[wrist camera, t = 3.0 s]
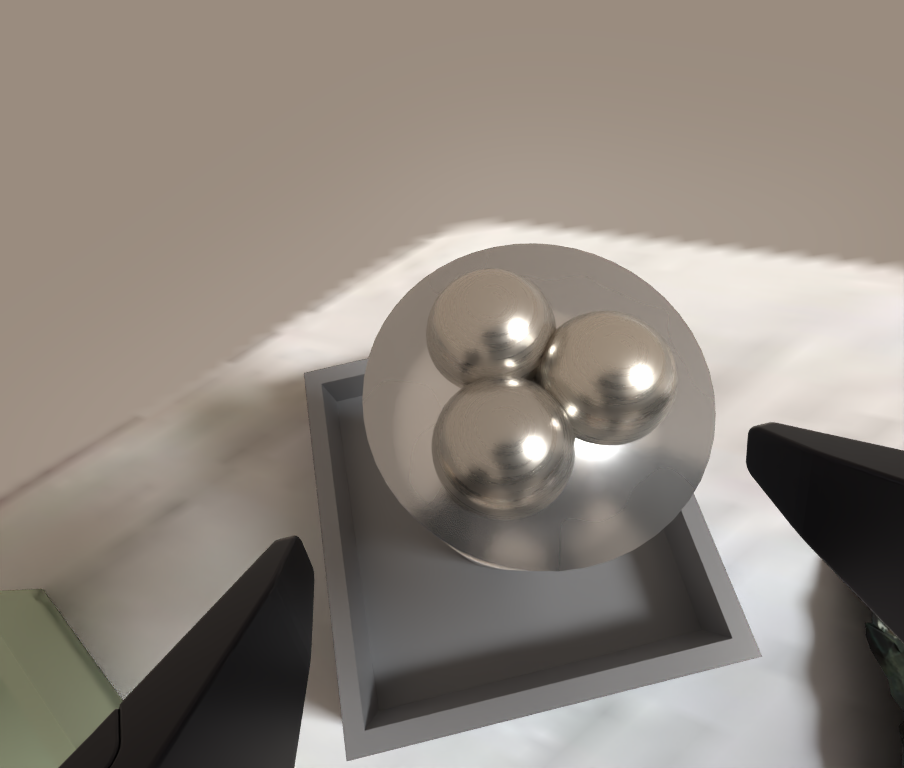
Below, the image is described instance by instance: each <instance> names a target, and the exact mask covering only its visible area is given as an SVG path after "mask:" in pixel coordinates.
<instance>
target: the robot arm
mask: <svg viewBox="0 0 904 768" xmlns="http://www.w3.org/2000/svg"><path fill="white" fill-rule="evenodd" d="M746 464H747V468H748V470H749V472H750V474H751V476H752V477H753V478H754V479H755V481H756V482H757V483H758V484H759V486H760V487H761V488H762V489H763V491H764V492H765V493H766V494H767V496H768V497H769V498H770V499H771V501H772V502H773V503H774V504H775V506H776V507H777V508H778V509H779V511H780V512H781V513H782V514H783V516H784V517H785V518H786V519H787V521H788V522H789V523H790V524H791V526H792V527H793V528H794V529H795V530H796V531H797V533H798V534H799V535H800V536H801V537H802V538H803V540H804V541H805V542H806V543H807V544H808V545H809V546H810V547H811V548H812V549H813V550H814V551H815V552H816V553H817V554H818V555H819V557H820V558H821V559H822V560H823V561H824V562H825V563H826V564H827V565H828V566H829V567H830V568H831V569H832V570H833V571H834V572H835V573H836V574H837V575H838V576H839V577H840V578H841V579H842V580H843V581H844V582H845V583H846V584H847V585H848V586H849V588H850V589H851V590H852V591H853V592H854V593H855V594H856V595H857V596H858V597H859V598H860V599H861V600H862V601H863V602H864V603H865V604H866V605H867V606H868V607H869V608H870V609H871V610H872V611H873V612H874V613H875V614H876V615H877V616H878V618H879V619H880V620H881V621H882V622H883V623H884V624H885V625H886V626H887V627H888V628H889V629H890V630H891V631H892V632H893V633H894V634H895V635H896V636H897V637H898V638H899V639H900V640H901V641H902V642H903V643H904V451H903V450H898V449H894V448H889V447H885V446H880V445H875V444H871V443H866V442H862V441H857V440H853V439H848V438H843V437H839V436H834V435H830V434H825V433H821V432H816V431H812V430H807V429H802V428H798V427H793V426H789V425H784V424H780V423H774V422H770V423H765V424H761V425H757V426H754V427H752V428H751V429H750V430H749V432H748V441H747V455H746ZM313 599H314V571H313V567H312V565H311V562H310V560H309V558H308V555H307V553H306V550H305V548H304V546H303V543H302V541H301V540H300V538H299V537H297V536H291V537H287V538H282V539H279V540H276V541H275V542H274V543H273V544H272V545H271V546H270V547H269V548H268V549H267V550H266V551H265V552H264V553H263V554H262V555H261V556H260V557H259V558H258V559H257V560H256V561H255V562H254V564H253V565H252V566H251V567H250V568H249V569H248V570H247V571H246V572H245V573H244V574H243V575H242V576H241V577H240V578H239V579H238V580H237V581H236V582H235V583H234V585H233V586H232V587H231V588H230V589H229V590H228V591H227V592H226V593H225V594H224V595H223V596H222V597H221V598H220V599H219V600H218V601H217V602H216V603H215V605H214V606H213V607H212V608H211V609H210V610H209V611H208V612H207V613H206V614H205V615H204V616H203V617H202V618H201V619H200V620H199V621H198V622H197V623H196V625H195V626H194V627H193V628H192V629H191V630H190V631H189V632H188V633H187V634H186V635H185V636H184V637H183V638H182V639H181V640H180V641H179V642H178V643H177V644H176V646H175V647H174V648H173V649H172V650H171V651H170V652H169V653H168V654H167V655H166V656H165V657H164V658H163V659H162V660H161V661H160V662H159V663H158V664H157V665H156V667H155V668H154V669H153V670H152V671H151V672H150V673H149V674H148V675H147V676H146V677H145V678H144V679H143V680H142V681H141V682H140V683H139V684H138V685H137V687H136V688H135V689H134V690H133V691H132V692H131V693H130V694H129V695H128V696H127V697H126V698H125V699H124V700H123V701H122V702H121V704H120V707H119V708H117V709H115V710H113V712H112V713H111V714H110V715H109V716H108V717H107V718H106V719H105V720H104V721H103V722H102V723H101V724H100V725H99V726H98V727H97V728H96V729H95V731H94V732H93V733H92V734H91V735H90V736H89V737H88V738H87V739H86V740H85V741H84V742H83V743H82V744H81V745H80V746H79V747H78V748H77V749H76V750H75V751H74V752H73V753H72V754H71V755H70V756H69V757H68V758H67V759H66V760H65V761H64V762H63V763H62V764H61V765H60V766H59V767H58V768H294V766H295V759H296V753H297V746H298V740H299V733H300V727H301V720H302V714H303V707H304V701H305V694H306V688H307V681H308V675H309V667H310V659H311V645H312V622H313Z"/></svg>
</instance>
